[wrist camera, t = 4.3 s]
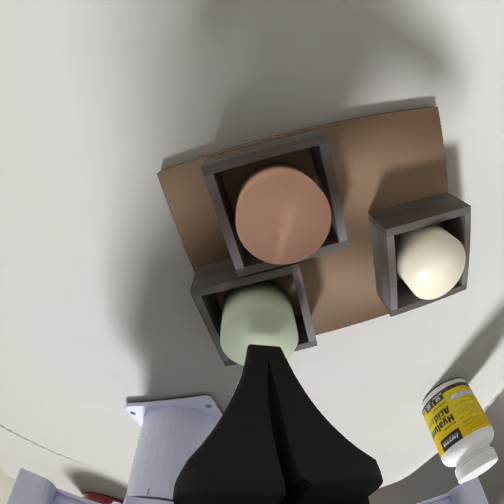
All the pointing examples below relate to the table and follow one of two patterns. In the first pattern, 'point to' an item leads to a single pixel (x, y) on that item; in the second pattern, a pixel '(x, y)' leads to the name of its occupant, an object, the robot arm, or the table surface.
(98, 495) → the canister
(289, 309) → the sage button
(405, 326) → the table surface
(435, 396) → the supplement bottle
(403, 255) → the cream button
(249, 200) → the terracotta button
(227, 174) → the button panel
